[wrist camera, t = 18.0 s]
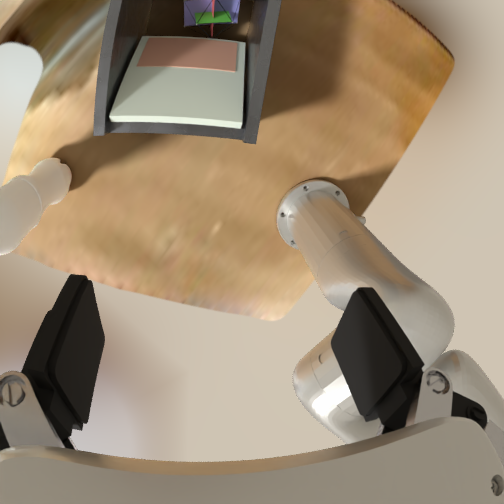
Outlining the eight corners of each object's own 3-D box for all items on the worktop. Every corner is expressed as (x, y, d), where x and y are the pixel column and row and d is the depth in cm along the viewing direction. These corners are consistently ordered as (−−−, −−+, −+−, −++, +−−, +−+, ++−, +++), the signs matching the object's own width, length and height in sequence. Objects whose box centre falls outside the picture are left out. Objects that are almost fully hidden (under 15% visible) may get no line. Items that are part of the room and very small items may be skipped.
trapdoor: (243, 48, 30) (245, 42, 29) (240, 128, 27) (242, 122, 26) (142, 41, 27) (142, 35, 26) (111, 121, 24) (109, 115, 23)
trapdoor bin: (263, -4, 28) (289, -39, 17) (240, 127, 38) (255, 144, 27) (147, -12, 25) (125, -49, 13) (127, 120, 35) (93, 135, 24)
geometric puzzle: (183, 41, 30) (182, -9, 25) (234, 37, 32) (234, -12, 26) (185, 42, 25) (183, -18, 20) (245, 38, 27) (245, -20, 21)
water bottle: (34, 162, 35) (-69, 240, 14) (68, 147, 35) (-40, 220, 14) (48, 202, 39) (-38, 299, 18) (81, 189, 39) (-4, 290, 18)
